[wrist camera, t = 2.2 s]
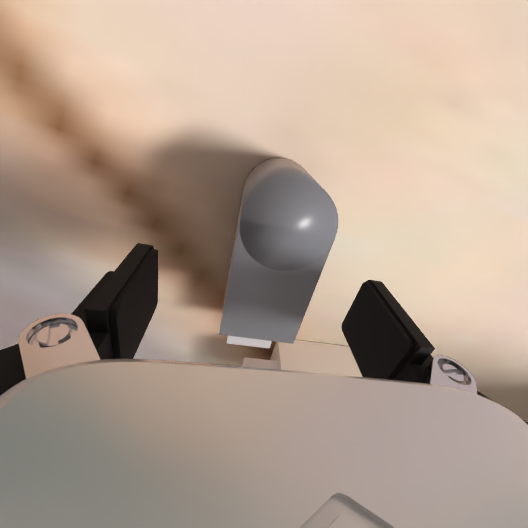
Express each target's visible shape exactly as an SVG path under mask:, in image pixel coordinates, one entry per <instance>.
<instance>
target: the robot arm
mask: <svg viewBox="0 0 528 528" xmlns="http://www.w3.org/2000/svg"><path fill="white" fill-rule="evenodd" d="M157 302H158V250H156V249H154V247H153V245H147V244H140V243H138V244H136V246H135V247H134V248H133V249H132V251H131V252H130V253H129V254H128V255H127V257H126V258H125V259H124V260H123V262H122V263H121V264H120V265H119V266H118V268H117V269H116V270H115V271H109V272H107V273H106V274H105V275H104V277H103V278H102V279H101V280H100V281H99V282H98V284H97V285H96V286H95V287H94V288H93V289H92V291H91V292H90V293H89V294H88V295H87V296H86V298H85V299H84V300H83V301H82V302H81V303H80V305H79V306H78V307H77V308H76V309H75V310H74V312H73V313H72V314H55V315H50V316H46V317H44V318H41V319H38V320H36V321H35V322H33V323H31V324H29V325H28V326H27V327H26V328H25V329H24V330H23V331H22V332H21V334H20V335H19V341H18V343H19V344H16V345H14V346H11V347H8V348H5V349H3V350H0V528H528V422H526V421H524V420H523V419H521V418H520V417H519V416H517V415H516V414H515V413H513V412H512V411H510V410H508V409H507V408H505V407H503V406H502V405H500V404H498V403H496V402H494V401H492V400H491V399H489V398H488V397H486V396H484V395H483V394H481V393H480V392H478V391H477V385H476V381H475V379H474V377H473V376H472V374H471V373H470V372H469V371H468V370H467V369H466V368H465V367H464V366H463V365H461V364H460V363H459V362H457V361H455V360H454V359H452V358H449V357H447V356H443V355H437V356H435V357H434V358H433V357H432V356H431V355H430V354H431V353H432V352H433V350H434V349H435V348H434V347H433V346H432V344H431V343H430V342H429V341H428V339H427V338H426V337H425V336H424V334H423V333H422V332H421V331H420V329H419V328H418V327H417V326H416V324H415V323H414V322H413V321H412V319H411V318H410V317H409V316H408V314H407V313H406V312H405V310H404V309H403V308H402V307H401V305H400V304H399V303H398V302H397V300H396V299H395V298H394V297H393V295H392V294H391V293H390V292H389V290H388V289H387V288H386V287H385V285H384V284H383V283H382V282H380V281H374V280H368V281H366V282H364V283H363V284H362V286H361V288H360V290H359V292H358V294H357V296H356V298H355V300H354V301H353V303H352V305H351V307H350V309H349V311H348V313H347V315H346V317H345V319H344V321H343V323H342V331H343V333H344V336H345V338H346V340H347V342H348V345H349V347H350V349H351V352H352V354H353V356H354V358H355V361H356V363H357V365H358V367H359V370H360V372H361V374H362V377H356V376H346V375H335V374H324V373H313V372H301V371H290V370H279V369H267V368H255V367H243V366H231V365H219V364H207V363H194V362H181V361H167V360H149V359H133V357H134V355H135V353H136V351H137V349H138V346H139V344H140V342H141V340H142V338H143V335H144V333H145V331H146V329H147V327H148V324H149V322H150V320H151V318H152V316H153V313H154V311H155V309H156V306H157Z"/></svg>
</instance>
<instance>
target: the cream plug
mask: <svg viewBox="0 0 528 528" xmlns="http://www.w3.org/2000/svg"><path fill="white" fill-rule="evenodd" d="M242 366H243V367H255V368H267V369H279V370H290V371H301V372H313V373H324V374H335V375H346V376H356V377H362V374H361V372H360V370H359V367H358V365H357V363H356V361H355V358H354V356H353V354H352V352H351V349H350V347H349V346H341V345H333V344H325V343H317V342H309V341H302V340H294V343H293V344H292V343H284V342H276V344H275V347H274V350H273V352H272V355H271V358H270V360H264V359H255V358H247V357H244V360H243V363H242Z"/></svg>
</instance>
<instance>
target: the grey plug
mask: <svg viewBox="0 0 528 528" xmlns="http://www.w3.org/2000/svg"><path fill="white" fill-rule="evenodd" d="M337 228H338V214H337V210H336V207H335V204H334V202H333V201H332V199H331V197H330V196H329V195H328V194H327V192H326V191H325V190H324V189H323V188H322V187H321V186H320V185H319V184H318V183H317V182H316V181H315V180H314V179H313V178H312V177H311V176H310V175H309V174H308V173H307V171H306V170H305V169H304V168H303V167H301V166H300V165H299V164H298V163H296V162H294V161H292V160H289V159H285V158H273V159H269V160H266V161H264V162H262V163H260V164H259V165H257V166H256V167H255V168H254V169H253V170H252V171H251V172H250V174H249V175H248V177H247V179H246V181H245V184H244V188H243V194H242V200H241V205H240V211H239V217H238V222H237V228H236V233H235V239H234V245H233V250H232V256H231V261H230V267H229V273H228V278H227V285H226V292H225V298H224V305H223V312H222V319H221V326H220V333H219V335H227V343H228V344H236V345H244V346H253V347H261V348H270V345H271V342H272V341H276V342H284V343H292V344H293V343H294V340H295V338H296V335H297V333H298V330H299V328H300V325H301V323H302V320H303V317H304V315H305V312H306V310H307V307H308V305H309V302H310V300H311V297H312V295H313V292H314V290H315V287H316V285H317V282H318V280H319V277H320V275H321V272H322V269H323V267H324V264H325V262H326V259H327V257H328V254H329V252H330V249H331V247H332V244H333V242H334V239H335V236H336V233H337Z"/></svg>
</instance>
